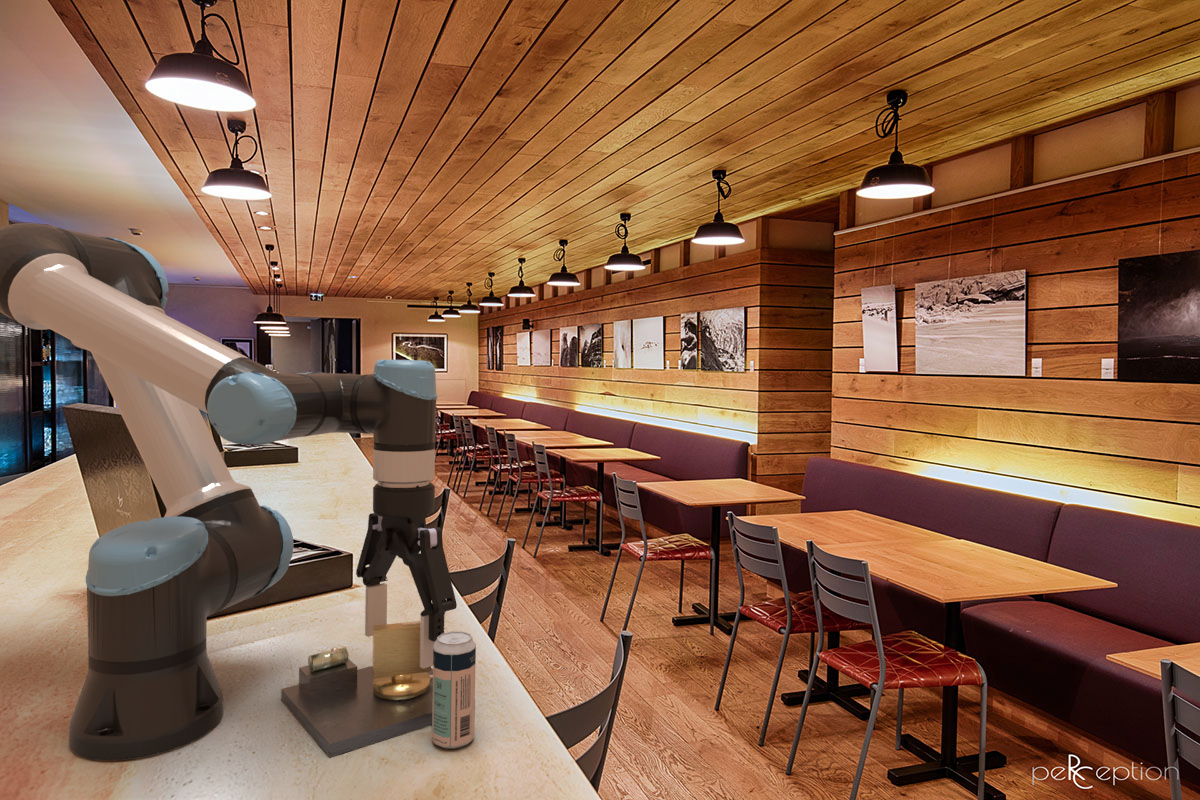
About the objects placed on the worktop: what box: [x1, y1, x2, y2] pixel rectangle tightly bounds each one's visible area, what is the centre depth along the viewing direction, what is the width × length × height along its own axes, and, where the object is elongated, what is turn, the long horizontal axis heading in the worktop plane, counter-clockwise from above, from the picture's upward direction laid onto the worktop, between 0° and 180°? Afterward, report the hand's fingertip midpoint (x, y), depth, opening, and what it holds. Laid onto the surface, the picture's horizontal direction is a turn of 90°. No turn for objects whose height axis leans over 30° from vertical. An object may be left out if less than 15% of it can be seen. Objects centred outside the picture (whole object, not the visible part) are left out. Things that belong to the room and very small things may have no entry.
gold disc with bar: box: [372, 620, 433, 700], centre depth 93 cm, size 7×9×8 cm
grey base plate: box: [280, 646, 433, 758], centre depth 92 cm, size 18×17×6 cm
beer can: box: [431, 631, 477, 750], centre depth 83 cm, size 5×5×12 cm
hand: (402, 648), depth 93 cm, fingers open, 13 cm apart
